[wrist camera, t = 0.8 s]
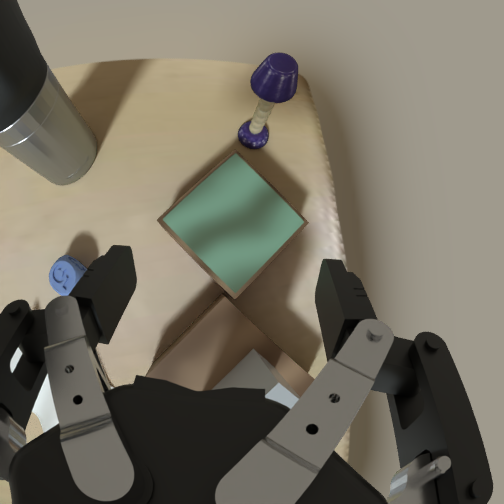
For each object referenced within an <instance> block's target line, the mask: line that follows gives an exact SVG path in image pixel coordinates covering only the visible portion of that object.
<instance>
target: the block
mask: <svg viewBox="0 0 504 504" xmlns="http://www.w3.org/2000/svg"><path fill="white" fill-rule="evenodd" d="M230 387H238V388H256V389H265V398H268V399H271V400H274V401H277V402H279V403H281V404H283V405H285V406H287V407H289V408H290V409H291V408H292V407H293V406H294V405H295V403H296V402H297V401H298V400H299V399H300V396H299V395H298V394H297V393H296V392H295V391H294V389H293V388H292V387H291V386H290V385H289V384H288V382H287V381H286V380H285V379H284V378H283V376H282V375H281V374H280V373H279V372H278V371H277V369H276V368H275V367H274V366H273V365H271V364H270V363H269V362H268V361H267V360H266V359H265V358H264V357H262V356H261V355H260V354H259V353H258V352H257V351H256V350H255V349H252V350H251V351H250V352H249V353H248V355H247V356H246V357H245V358H244V359H242V360H241V361H240V362H239V363H238V364H237V365H236V366H235V367H234V368H233V369H232V370H231V371H230V372H229V373H228V374H227V375H226V376H225V377H224V378H223V379H222V380H221V381H220V382H219V383H218V384H217V385H216V386H215V387H214V388H213V389H212V390H215V389H222V388H230Z"/></svg>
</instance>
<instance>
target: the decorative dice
mask: <svg viewBox="0 0 504 504" xmlns="http://www.w3.org/2000/svg"><path fill="white" fill-rule="evenodd" d="M86 270H87V269H86V267H85V266H84V265H82V264H81V263H80V262H79V261H78V260H76V259H75V258H73V257H71V256H69V255H64V256H62V257H60V258H59V259H58V260H57V261H56V262H55V263H54V265H53V266H52V268H51V270H50V273H49V281H50V284H51V286H52V287H53V289H54V290H55V291H56V292H58V293H59V294H60V295H62V296H68V295H69V293H70V292H71V291H72V289H73V288H74V286H75V285H76V284H77V282H78V281H79V280H80V278H81V277H83V274H84V273H85V272H86Z"/></svg>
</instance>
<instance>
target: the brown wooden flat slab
mask: <svg viewBox="0 0 504 504" xmlns="http://www.w3.org/2000/svg"><path fill="white" fill-rule="evenodd" d="M252 349H255V350H256V351H257V352H258V353H259V354H260V355H261V356H262V357H264V358H265V359H266V360H267V361H268V362H269V363H270V364H271V365H273V366H274V367H275V368H276V369H277V371H278V372H279V373H280V374H281V375H282V376H283V378H284V379H285V380H286V381H287V382H288V384H289V385H290V386H291V387H292V388H293V389H294V391H295V392H296V393H297V394H298V395H299V396H300V397H301V396H302V395H303V394H304V392H305V391H306V390H307V389H308V387H309V386H310V385H311V384H312V382H313V381H314V380H315V379H314V378H313V377H311V376H310V375H309V374H308V373H307V372H306V371H305V370H303V369H302V368H301V367H300V366H299V365H298V364H297V363H296V362H294V361H293V360H292V359H291V358H290V357H289V356H288V355H287V354H286V353H285V352H283V351H282V350H281V349H280V348H279V347H278V346H277V345H276V344H275V343H274V342H273V341H271V340H270V339H269V338H268V337H267V336H266V335H265V334H264V333H263V332H262V331H261V330H260V329H259V328H257V327H256V326H255V325H254V324H253V323H252V322H251V321H250V320H249V319H248V318H247V317H246V316H245V315H244V314H243V313H242V312H241V311H240V310H239V309H237V308H236V307H235V306H234V305H233V304H232V303H231V302H230V301H229V300H228V299H227V298H226V297H225V296H224V295H223V294H221V295H220V296H219V297H218V298H217V299H216V300H215V301H214V302H213V303H212V304H211V305H210V306H209V307H208V308H207V309H206V310H205V311H204V312H203V313H202V314H201V315H200V316H199V317H198V319H197V320H196V321H195V322H194V323H193V324H192V325H191V326H190V327H189V328H188V329H187V330H186V331H185V332H184V333H183V334H182V335H181V336H180V337H179V338H178V339H177V340H176V341H175V342H174V343H173V344H172V345H171V346H170V347H169V348H168V349H167V350H166V351H165V352H164V353H163V354H162V355H161V356H160V357H159V358H158V359H157V360H156V361H155V362H154V363H153V364H152V365H151V367H150V369H149V370H148V372H147V374H146V376H145V377H150V378H156V379H163V380H167V381H170V382H172V383H175V384H178V385H181V386H183V387H186V388H189V389H192V390H195V391H206V390H212V389H213V388H214V387H215V386H216V385H217V384H218V383H219V382H220V381H221V380H222V379H223V378H224V377H225V376H226V375H227V374H228V373H229V372H230V371H231V370H232V369H233V368H234V367H235V366H236V365H237V364H238V363H239V362H240V361H241V360H242V359H244V358H245V357H246V356H247V355H248V353H249V352H250V351H251V350H252Z"/></svg>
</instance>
